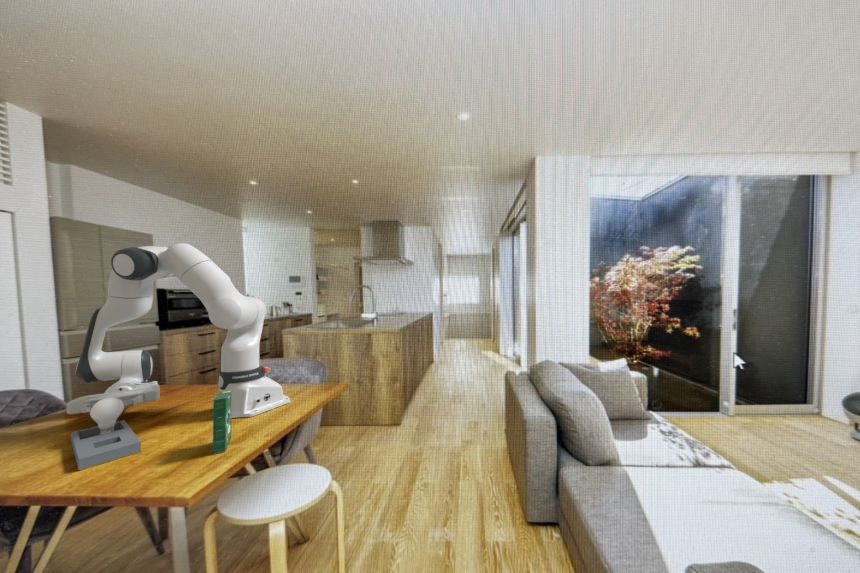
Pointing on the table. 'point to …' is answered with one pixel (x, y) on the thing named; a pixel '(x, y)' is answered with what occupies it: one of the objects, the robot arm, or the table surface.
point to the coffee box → (221, 421)
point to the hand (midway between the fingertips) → (110, 406)
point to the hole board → (104, 445)
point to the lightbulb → (106, 413)
